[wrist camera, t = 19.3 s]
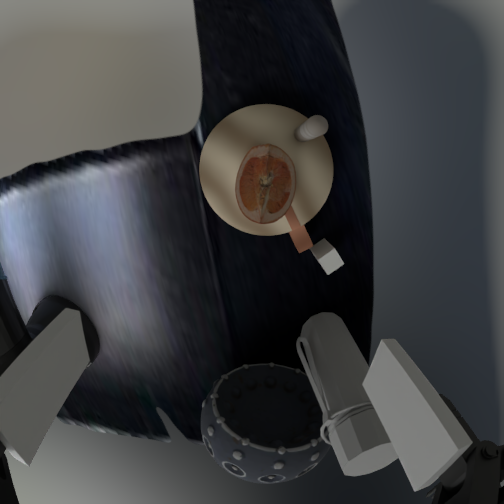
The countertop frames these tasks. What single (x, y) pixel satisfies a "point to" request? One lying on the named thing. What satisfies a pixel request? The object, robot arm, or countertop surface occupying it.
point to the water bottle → (344, 395)
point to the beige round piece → (289, 140)
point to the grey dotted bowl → (264, 423)
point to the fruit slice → (265, 184)
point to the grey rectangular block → (327, 256)
